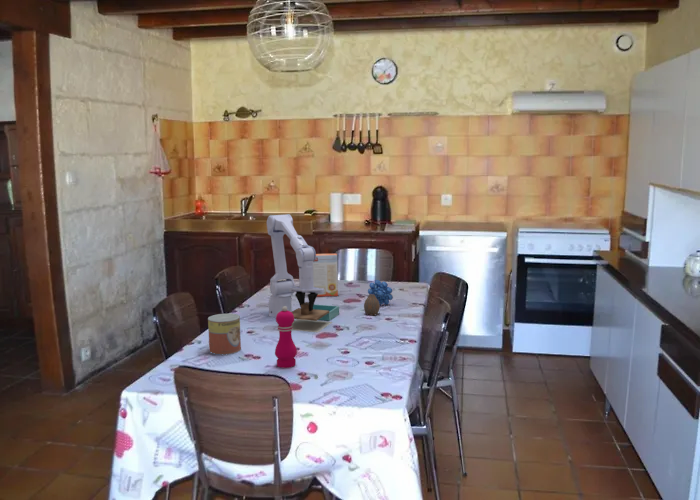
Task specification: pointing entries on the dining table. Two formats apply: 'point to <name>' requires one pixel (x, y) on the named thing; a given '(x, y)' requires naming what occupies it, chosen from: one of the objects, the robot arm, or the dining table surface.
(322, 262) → the cracker box
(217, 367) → the dining table surface
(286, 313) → the pepper mill
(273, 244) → the robot arm
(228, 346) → the canned food
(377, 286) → the grapes
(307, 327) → the mat
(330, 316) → the dish
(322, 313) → the lid
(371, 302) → the brown egg-shaped piece
